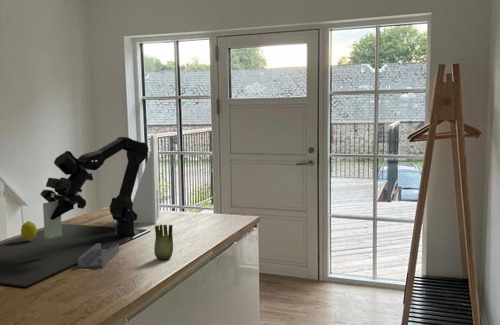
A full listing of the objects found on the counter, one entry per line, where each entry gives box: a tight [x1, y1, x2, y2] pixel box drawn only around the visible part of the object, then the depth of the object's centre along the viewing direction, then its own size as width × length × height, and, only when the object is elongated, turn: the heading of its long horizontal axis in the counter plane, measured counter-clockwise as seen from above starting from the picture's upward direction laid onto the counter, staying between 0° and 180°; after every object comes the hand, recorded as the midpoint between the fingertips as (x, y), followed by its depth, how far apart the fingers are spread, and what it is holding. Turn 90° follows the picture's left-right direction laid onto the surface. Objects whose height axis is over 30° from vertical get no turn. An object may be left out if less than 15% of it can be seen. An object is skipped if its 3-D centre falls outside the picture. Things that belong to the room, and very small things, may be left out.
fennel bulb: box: [153, 224, 174, 260], centre depth 157 cm, size 6×5×12 cm
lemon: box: [20, 220, 37, 242], centre depth 181 cm, size 6×6×8 cm
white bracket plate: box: [132, 133, 160, 226], centre depth 216 cm, size 20×14×40 cm
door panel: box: [42, 201, 63, 240], centre depth 161 cm, size 5×2×12 cm, turn 148°
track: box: [77, 242, 120, 269], centre depth 158 cm, size 18×8×3 cm, turn 179°
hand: (49, 218), depth 160 cm, fingers closed on door panel, 2 cm apart
